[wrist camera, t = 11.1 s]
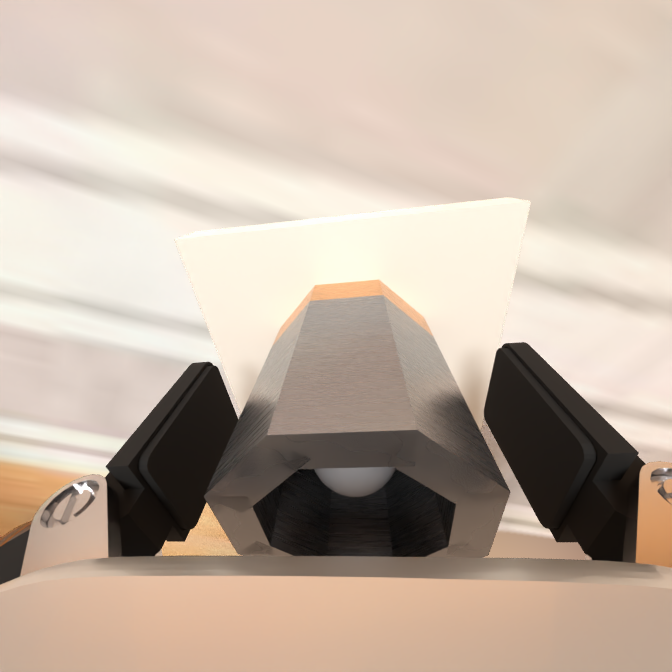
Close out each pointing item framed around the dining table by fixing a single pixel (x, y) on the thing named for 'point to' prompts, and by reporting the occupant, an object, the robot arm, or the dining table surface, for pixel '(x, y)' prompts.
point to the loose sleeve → (357, 439)
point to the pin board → (362, 265)
